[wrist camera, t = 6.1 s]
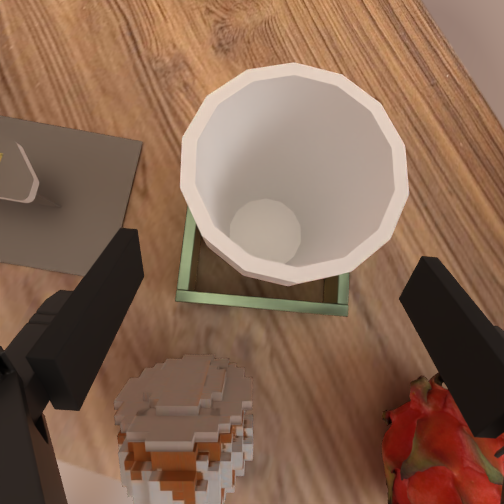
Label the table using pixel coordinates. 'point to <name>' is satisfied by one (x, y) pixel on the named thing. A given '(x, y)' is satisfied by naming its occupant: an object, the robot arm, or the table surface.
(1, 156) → the platform
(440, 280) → the robot arm
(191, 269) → the olive square frame
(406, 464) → the dragon fruit
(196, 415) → the caramel apple
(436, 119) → the table surface
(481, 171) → the table surface
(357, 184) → the foam cup
